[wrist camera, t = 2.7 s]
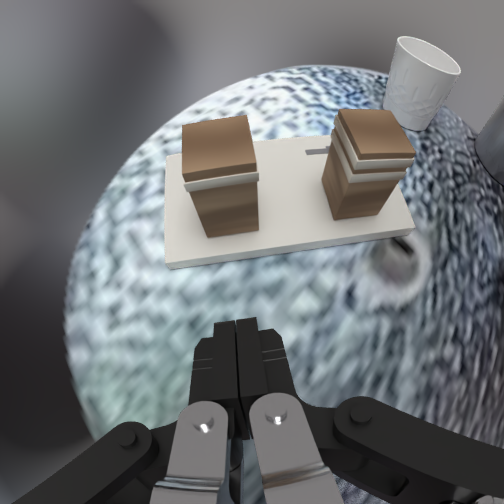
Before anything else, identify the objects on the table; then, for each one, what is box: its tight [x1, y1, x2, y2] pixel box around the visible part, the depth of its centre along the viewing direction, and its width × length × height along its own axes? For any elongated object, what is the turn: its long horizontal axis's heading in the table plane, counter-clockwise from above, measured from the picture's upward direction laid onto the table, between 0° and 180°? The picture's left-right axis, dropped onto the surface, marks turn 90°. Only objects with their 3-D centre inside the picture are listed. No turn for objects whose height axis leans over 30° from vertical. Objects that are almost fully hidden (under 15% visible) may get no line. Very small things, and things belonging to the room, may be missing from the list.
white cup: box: [383, 36, 461, 131], centre depth 25 cm, size 8×8×10 cm
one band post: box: [182, 115, 259, 238], centre depth 19 cm, size 4×4×8 cm
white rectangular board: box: [165, 135, 415, 269], centre depth 25 cm, size 11×21×2 cm, turn 98°
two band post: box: [321, 109, 416, 220], centre depth 19 cm, size 4×4×8 cm
